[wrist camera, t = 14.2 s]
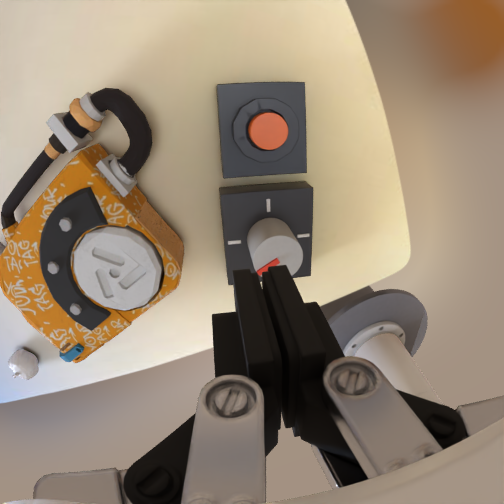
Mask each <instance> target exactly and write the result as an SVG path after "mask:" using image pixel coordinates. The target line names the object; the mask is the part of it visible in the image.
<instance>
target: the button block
mask: <svg viewBox="0 0 504 504" xmlns="http://www.w3.org/2000/svg"><path fill="white" fill-rule="evenodd" d="M217 102H218V117H219V132H220V146H221V160H222V173H223V178H224V179H225V178H236V177H248V176H262V175H277V174H294V173H307V158H306V107H305V83H304V82H254V83H233V84H218V85H217ZM264 112H269V113H275V114H278V115H279V116H281V117H282V118H283V119H284V120H285V121H286V123H287V126H288V136H287V139H286V141H285V142H284V143H283V144H282V145H281V146H280V147H278V148H276V149H273V150H266V149H262V148H260V147H258V146H257V145H256V144H255V143H254V142H253V141H252V140H251V138H250V136H249V133H248V127H249V124H250V122H251V120H252V119H253V118H254V117H255V116H256V115H258V114H260V113H264Z"/></svg>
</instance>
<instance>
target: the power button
mask: <svg viewBox="0 0 504 504" xmlns="http://www.w3.org/2000/svg"><path fill="white" fill-rule="evenodd" d="M248 133H249V136H250V138H251V140H252V141H253V142H254V143H255V144H256V145H257V146H258V147H260V148H262V149H266V150H273V149H276V148H278V147H280V146H281V145H282V144H283V143H284V142H285V141H286V139H287V136H288V126H287V123H286V121H285V120H284V119H283V118H282V117H281V116H279V115H278V114H275V113H269V112H264V113H260V114H258V115H256V116H255V117H254V118H253V119H252V120H251V122H250V124H249V127H248Z"/></svg>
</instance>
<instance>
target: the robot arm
mask: <svg viewBox="0 0 504 504" xmlns="http://www.w3.org/2000/svg"><path fill="white" fill-rule="evenodd" d="M232 275H233V286H234V297H235V308H236V312H229V313H219V314H212V327H213V346H214V363H215V378H214V379H213V380H211V381H210V382H208V383H207V384H206V385H205V386H204V387H203V388H202V390H201V392H200V395H199V397H198V403H197V409H196V413H195V414H194V415H193V416H192V417H191V418H189V419H188V420H187V421H186V422H185V423H183V424H182V425H181V426H180V427H179V428H178V429H176V430H175V431H174V432H173V433H171V434H170V435H169V436H168V437H167V438H165V439H164V440H163V441H162V442H160V443H159V444H158V445H157V446H156V447H154V448H153V449H152V450H150V451H149V452H148V453H146V454H145V455H144V456H143V457H141V458H140V459H139V460H138V461H136V462H135V463H134V464H133V465H132V466H131V467H130V468H129V469H125V470H119V471H118V470H117V469H116V468H109V469H101V470H92V471H82V472H69V473H52V474H48V475H44V476H43V477H42V478H40V479H39V480H38V481H37V483H36V485H35V487H34V492H33V499H26V500H17V501H11V502H6V503H3V504H504V396H500V397H496V398H492V399H488V400H484V401H479V402H475V403H470V404H465V405H460V406H458V407H457V409H456V410H454V409H452V408H450V407H448V406H445V405H443V403H442V402H441V400H440V399H439V397H438V396H437V394H436V393H435V391H434V389H433V388H432V386H431V385H430V384H429V382H428V380H427V379H426V377H425V376H424V374H423V373H422V371H421V370H420V368H419V367H418V366H417V364H416V363H415V361H414V360H413V358H412V357H411V355H410V354H409V352H408V351H407V350H406V348H405V347H404V344H405V333H404V331H403V329H402V328H401V327H400V325H399V324H397V323H395V322H391V321H383V322H378V323H375V324H372V325H370V326H368V327H366V328H364V329H363V330H361V331H360V332H358V333H357V334H356V335H355V336H354V337H353V338H352V339H351V340H350V341H349V342H348V344H347V345H346V347H345V349H344V351H343V352H342V350H341V348H340V346H339V344H338V342H337V340H336V338H335V336H334V334H333V332H332V330H331V328H330V326H329V324H328V322H327V320H326V318H325V316H324V314H323V312H322V310H321V309H320V307H319V305H318V303H317V302H311V303H304V302H303V300H302V297H301V295H300V293H299V291H298V289H297V287H296V284H295V282H294V280H293V278H292V276H291V274H290V272H289V270H288V267H287V266H286V265H279V266H270V267H268V271H266V272H262V287H261V284H260V280H259V277H258V274H257V273H251V271H250V269H241V270H232ZM281 413H282V417H283V421H284V424H285V427H286V428H291V427H292V429H293V433H294V436H295V437H297V436H300V437H301V439H302V440H304V441H306V442H308V443H310V444H311V447H312V450H313V452H314V454H315V456H316V458H317V460H318V462H319V464H320V466H321V468H322V470H323V472H324V474H325V476H326V478H327V480H328V482H329V484H330V486H331V487H332V489H333V490H330V491H325V492H321V493H317V494H313V495H309V496H303V497H298V498H293V499H287V500H282V501H275V502H269V503H266V456H267V455H268V454H269V453H270V451H271V450H272V449H273V448H274V447H275V446H276V445H277V443H278V430H279V429H280V428H281V427H280V426H281Z"/></svg>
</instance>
